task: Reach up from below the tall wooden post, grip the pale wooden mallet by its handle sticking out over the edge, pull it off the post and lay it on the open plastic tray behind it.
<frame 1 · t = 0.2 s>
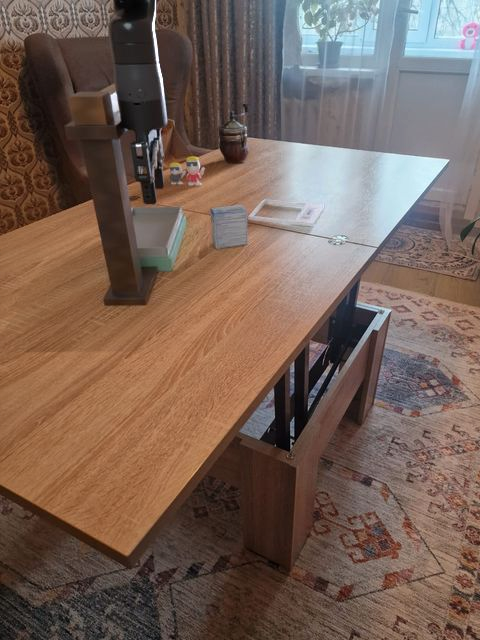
hand: (154, 195, 87), 19 cm above the table, tool pointing down, fingers open, 8 cm apart
medicine box: (230, 244, 117), on the table
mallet: (109, 111, 84), point 32 cm above the table, touching tall wooden post
toy figures: (187, 184, 156), on the table
open plastic tray: (150, 246, 116), on the table
tall wooden post: (132, 288, 98), on the table
coffee grinder: (236, 159, 181), on the table
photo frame: (287, 214, 133), on the table
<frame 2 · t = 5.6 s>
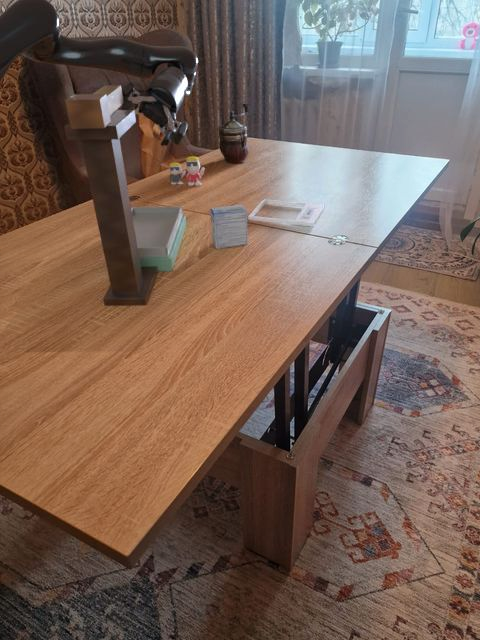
hand: (144, 128, 94), 28 cm above the table, tool horizontal, fingers open, 8 cm apart
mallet: (103, 114, 82), point 32 cm above the table, touching tall wooden post
everything else where it was.
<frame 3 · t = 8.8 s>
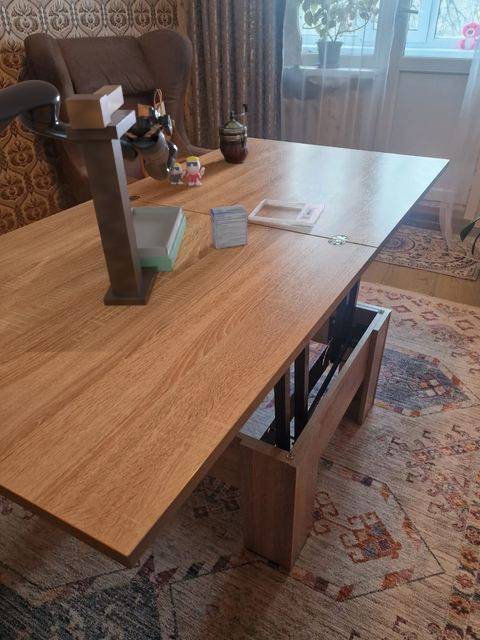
hand: (129, 112, 97), 30 cm above the table, tool pointing upward, fingers open, 8 cm apart
nothing on the table moved.
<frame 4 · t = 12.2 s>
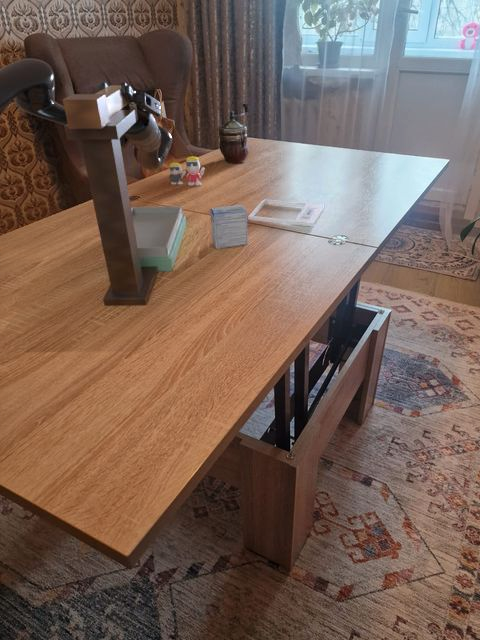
hand: (113, 88, 87), 35 cm above the table, tool pointing upward, fingers closed on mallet, 3 cm apart
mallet: (104, 114, 82), point 32 cm above the table, touching gripper, tall wooden post
everything else where it was.
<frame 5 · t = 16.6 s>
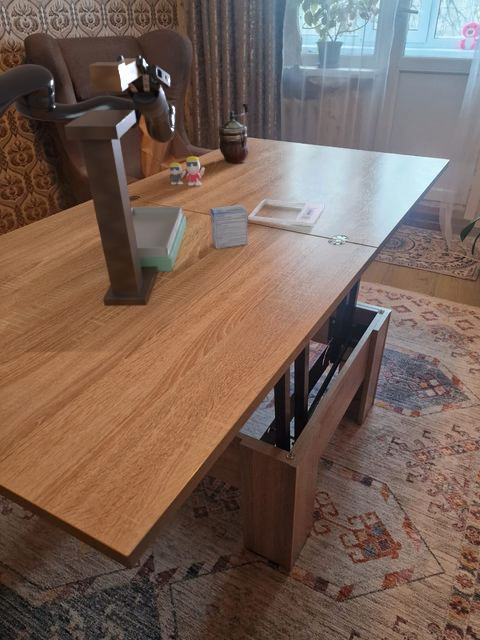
hand: (129, 60, 97), 38 cm above the table, tool pointing upward, fingers closed on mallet, 3 cm apart
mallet: (122, 82, 93), point 35 cm above the table, touching gripper
everything else where it was.
when the fingers open (22 cm above the table, at t = 21.3 s): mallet drops 17 cm, resting on open plastic tray.
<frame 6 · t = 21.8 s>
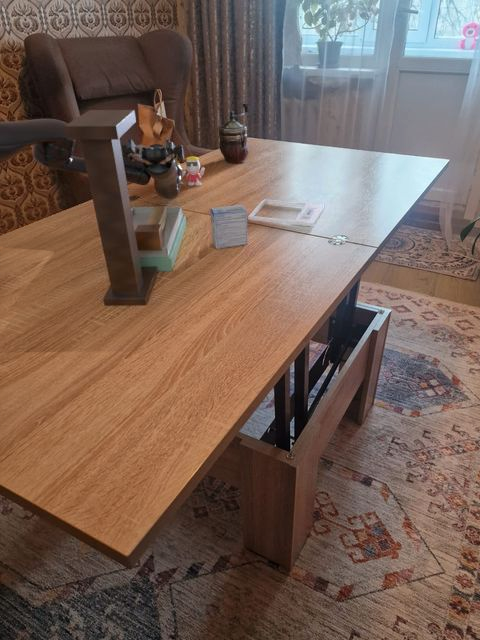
hand: (148, 144, 108), 22 cm above the table, tool pointing upward, fingers open, 8 cm apart
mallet: (155, 233, 111), point 4 cm above the table, touching open plastic tray
everything else where it was.
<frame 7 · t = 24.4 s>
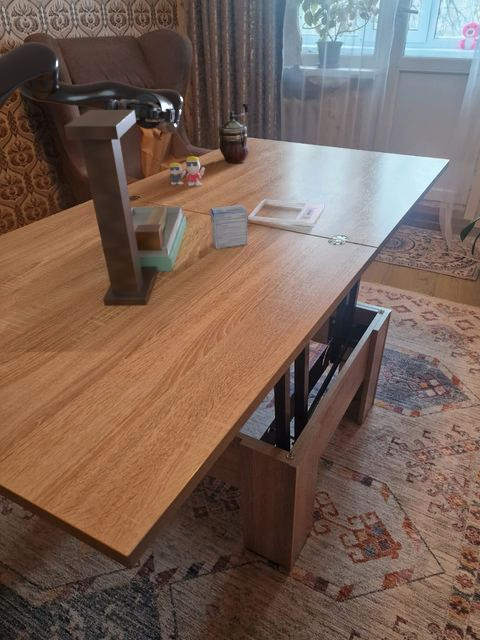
hand: (130, 110, 98), 30 cm above the table, tool horizontal, fingers open, 8 cm apart
nothing on the table moved.
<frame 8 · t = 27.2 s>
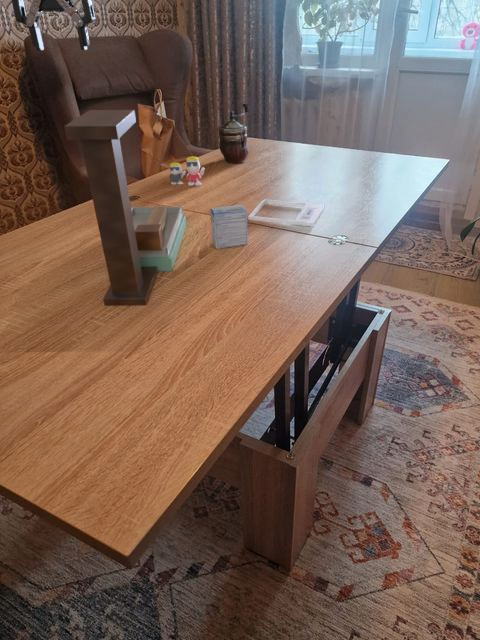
hand: (62, 49, 94), 40 cm above the table, tool pointing down, fingers open, 8 cm apart
nothing on the table moved.
at the end: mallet inside the target area on the open plastic tray (3.7 cm from its centre), point 4.5 cm above the open plastic tray's base; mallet touching open plastic tray; the gripper is holding nothing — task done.
